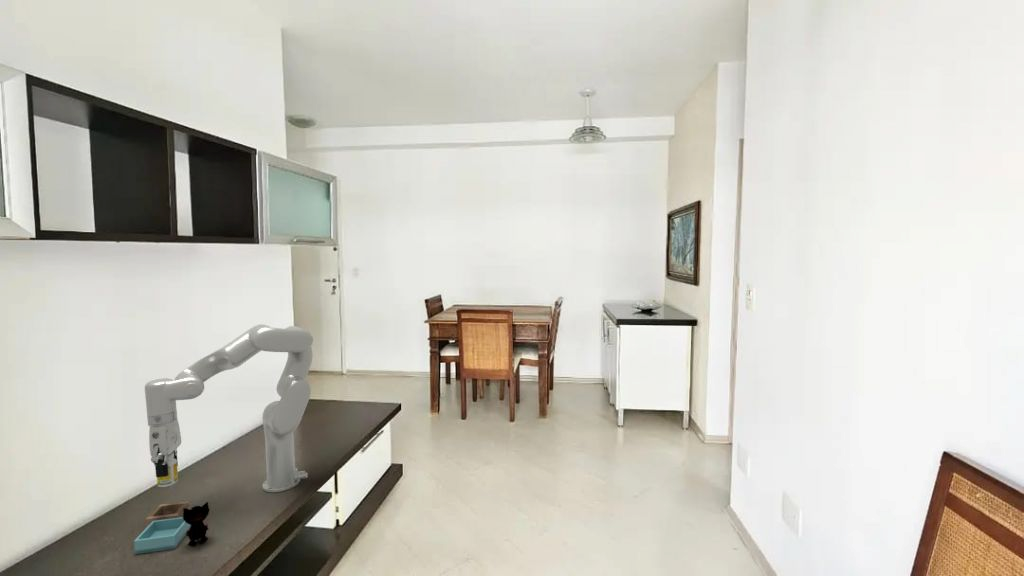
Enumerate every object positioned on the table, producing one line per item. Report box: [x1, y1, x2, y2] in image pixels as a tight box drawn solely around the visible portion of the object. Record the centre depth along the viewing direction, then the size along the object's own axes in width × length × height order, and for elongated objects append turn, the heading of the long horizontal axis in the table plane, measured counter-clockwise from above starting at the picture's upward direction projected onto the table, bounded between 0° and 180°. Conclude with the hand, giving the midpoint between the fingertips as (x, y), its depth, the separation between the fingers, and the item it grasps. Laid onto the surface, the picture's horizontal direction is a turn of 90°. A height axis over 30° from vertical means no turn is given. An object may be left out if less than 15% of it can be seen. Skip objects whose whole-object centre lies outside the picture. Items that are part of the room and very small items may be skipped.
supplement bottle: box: [156, 452, 179, 488], centre depth 146 cm, size 5×5×10 cm
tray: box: [133, 517, 191, 555], centre depth 136 cm, size 10×10×4 cm
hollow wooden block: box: [145, 500, 191, 529], centre depth 147 cm, size 9×9×4 cm
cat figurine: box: [183, 500, 210, 547], centre depth 135 cm, size 7×7×12 cm
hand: (167, 471), depth 146 cm, fingers closed on supplement bottle, 5 cm apart
